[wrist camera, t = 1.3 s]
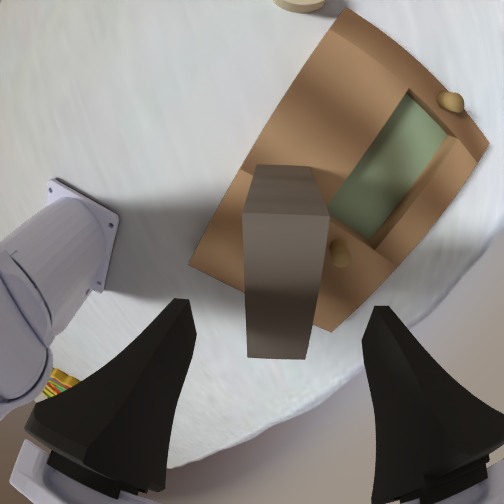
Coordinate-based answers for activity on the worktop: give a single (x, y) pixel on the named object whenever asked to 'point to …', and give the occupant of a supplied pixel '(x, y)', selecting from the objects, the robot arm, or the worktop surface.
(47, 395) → the decorative plaque
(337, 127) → the board
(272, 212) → the metal block
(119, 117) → the worktop surface
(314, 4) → the decorative sign
